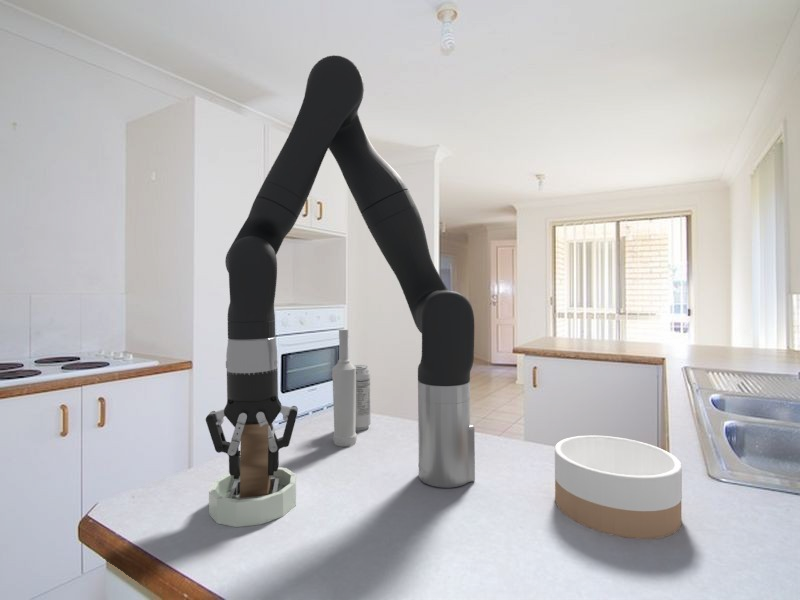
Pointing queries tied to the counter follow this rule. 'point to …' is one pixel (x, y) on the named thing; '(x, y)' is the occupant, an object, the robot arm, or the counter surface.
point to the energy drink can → (362, 398)
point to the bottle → (344, 395)
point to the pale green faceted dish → (252, 500)
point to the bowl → (619, 486)
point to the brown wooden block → (254, 461)
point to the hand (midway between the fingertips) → (254, 474)
